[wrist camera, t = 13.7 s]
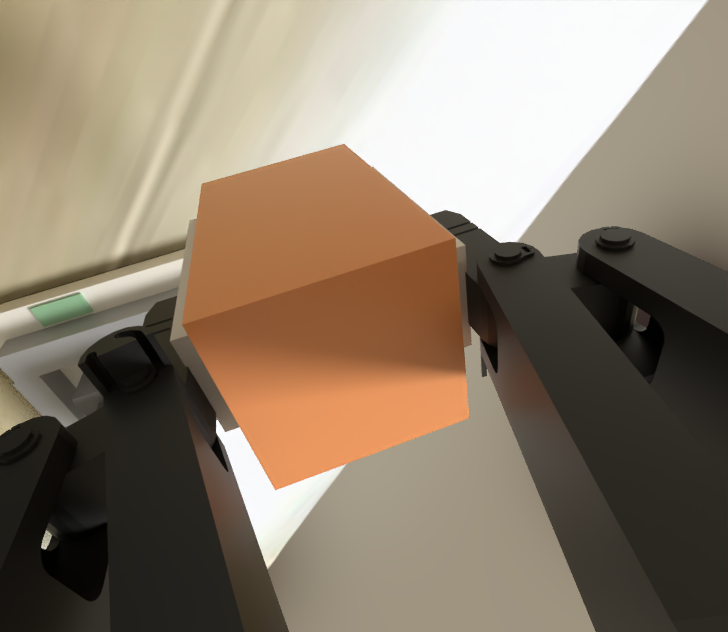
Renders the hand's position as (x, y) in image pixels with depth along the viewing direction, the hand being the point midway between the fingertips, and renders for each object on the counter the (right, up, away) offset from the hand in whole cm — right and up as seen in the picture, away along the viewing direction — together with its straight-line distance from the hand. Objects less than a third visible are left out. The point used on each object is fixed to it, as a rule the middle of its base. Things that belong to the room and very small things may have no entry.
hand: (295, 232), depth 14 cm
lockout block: (0, 0, 0) cm, 0 cm away
